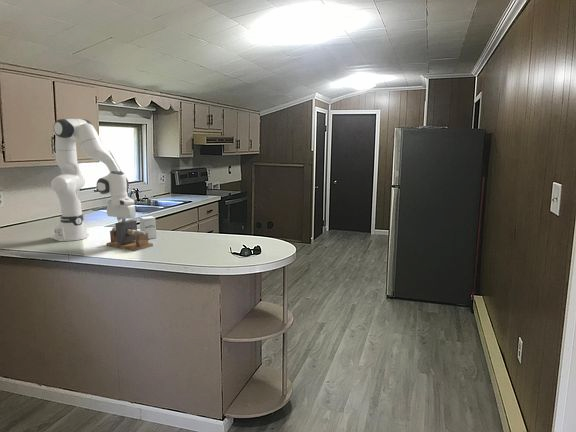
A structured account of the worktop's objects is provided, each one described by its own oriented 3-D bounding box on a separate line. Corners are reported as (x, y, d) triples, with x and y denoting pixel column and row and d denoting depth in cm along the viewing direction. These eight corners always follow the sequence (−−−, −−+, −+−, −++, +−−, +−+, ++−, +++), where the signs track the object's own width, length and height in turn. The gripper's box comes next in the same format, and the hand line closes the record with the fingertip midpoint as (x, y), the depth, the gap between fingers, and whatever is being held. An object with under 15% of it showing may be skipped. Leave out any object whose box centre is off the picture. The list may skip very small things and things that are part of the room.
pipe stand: (106, 245, 256) (105, 229, 255) (124, 241, 266) (122, 225, 265) (135, 250, 244) (134, 233, 242) (153, 246, 254) (151, 229, 252)
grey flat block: (117, 242, 252) (115, 223, 250) (133, 238, 261) (131, 219, 259) (121, 243, 250) (120, 224, 248) (137, 239, 259) (136, 220, 257)
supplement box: (144, 240, 269) (143, 218, 267) (140, 237, 275) (138, 217, 273) (157, 238, 273) (155, 217, 271) (152, 236, 279) (151, 215, 277)
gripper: (102, 200, 256) (105, 224, 258) (127, 202, 245) (129, 227, 248) (112, 198, 261) (114, 222, 264) (136, 200, 251) (138, 225, 253)
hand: (122, 225), depth 256 cm, fingers closed
